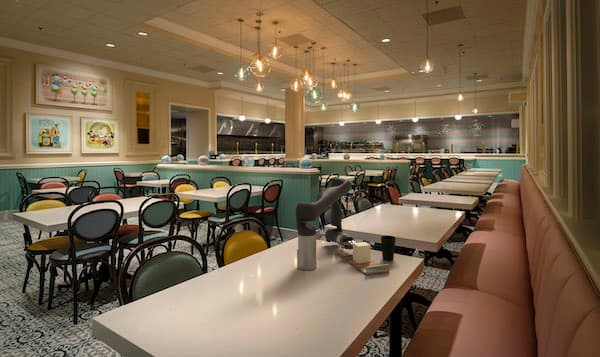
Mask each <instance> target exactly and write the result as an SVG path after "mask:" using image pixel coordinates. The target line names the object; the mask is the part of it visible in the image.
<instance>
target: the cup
mask: <svg viewBox="0 0 600 357" xmlns="http://www.w3.org/2000/svg"><path fill="white" fill-rule="evenodd" d="M396 239H397V238H396V236H394V235H381V236H380V242H381V254H382V260H383V261H385V262H391V261H394V258H395V257H394V256H395V249H396V248H395V247H396Z"/></svg>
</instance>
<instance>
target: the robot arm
mask: <svg viewBox="0 0 600 357" xmlns="http://www.w3.org/2000/svg"><path fill="white" fill-rule="evenodd" d="M351 189H352V182H351V180H350V179H347V178H344V177H339V176H334V177H333V179H332V180H331V183H330V186H329V187H326V188H324V189H323V190H321V191H320V192H319V193H318V194H317V195H316V201H315V202H309V201H308V202H307V201H306V202H305V201H300V202H298V203H297V205H296V207H295V221H296V222H295V223H296V224H295V225H296V230H297V250H296V260H297V261H296V263H297V264H296V265H297V269H300V270H303V271H312V270H315V269H317V265H318V263H317V228H316V227H314V226H312V225H311V224H310V222H315V221H317V220H318V219H319V218H320V216H321V215H322V214H323V213H324V212H325V211H326V210H327V209H328V208H329V207H331V209H330V210H331V211H330V218H329V224H330V225H331V226H332V227H334V228H328V229H326V231H325V238H326V240H328V241H329V242H332V243H337V244H338V245H339V246H340V247H341V249H343V250H344V249H345V250H349V251H351V250H353V243H360V242H361V241H356V240H355V239H354V238H353V237H352V236H351V235H349V234H347V233H344V232H343V226H342V221H343V209H342V206H341V204H340V202H339V199H341V198H342V197H344V196H346V195H347V194H348V193H349V192H350V191H351ZM335 227H336V228H335Z"/></svg>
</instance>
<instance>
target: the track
mask: <svg viewBox="0 0 600 357" xmlns="http://www.w3.org/2000/svg"><path fill="white" fill-rule="evenodd" d="M341 258H342V259H344V260H345V261H346V262H347V263H349V264H350V266H351V265H352V266H353V267H354V268H356V269H357V270H358V271H359V272H361V273H362V274H364V275H365V276H366V277H367V276H374V275H375V276H376V275H382V274H390V264H389V263H385V264H379V263H377V262H376V261H374V260H373V259H372V258H370V262H367V263H359V264H358V263H357V262H355V261H354V260H353V253H352V254H345V255H341Z"/></svg>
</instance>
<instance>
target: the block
mask: <svg viewBox="0 0 600 357" xmlns="http://www.w3.org/2000/svg"><path fill="white" fill-rule="evenodd" d="M359 242H360V243H359ZM359 242H357V243H353V249H352V254H353V260H354V261H355V262H357V263H358V264H359V263H367V262H370V259H371V253H372V252H371V248H372V246H371V244H370V243H368V242H366V241H359Z"/></svg>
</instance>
